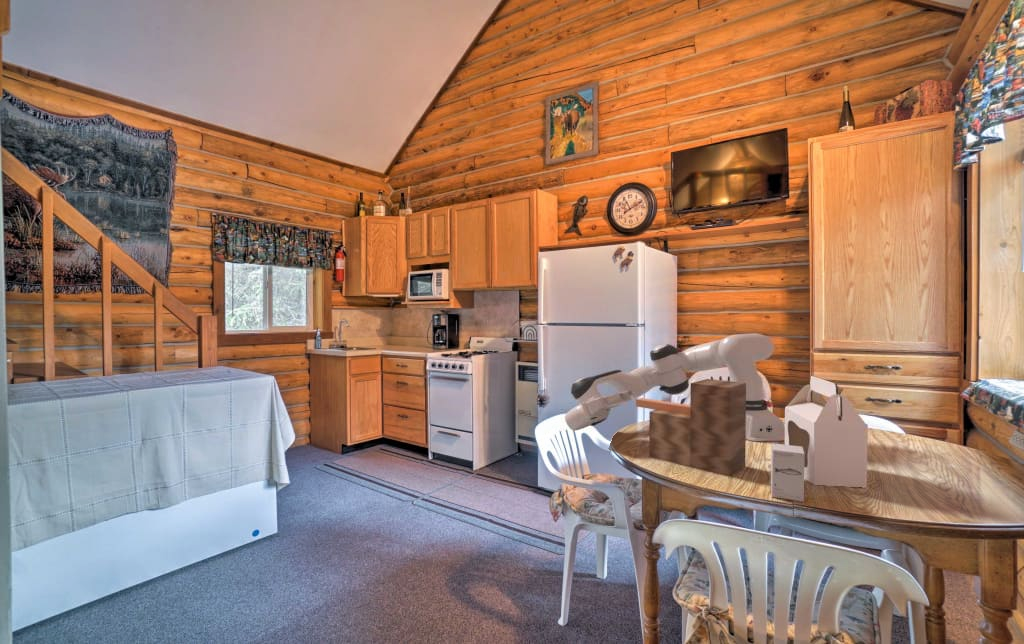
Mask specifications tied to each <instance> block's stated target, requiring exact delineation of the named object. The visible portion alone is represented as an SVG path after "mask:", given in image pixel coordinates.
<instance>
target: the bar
mask: <svg viewBox="0 0 1024 644" xmlns="http://www.w3.org/2000/svg"><path fill="white" fill-rule="evenodd" d="M635 407H636V408H643V409H648V410H649V409H650V410H653V411H654V410H661V411H667V412H673V413H679V414H685V415H690V404H685V403H678V402H671V401H665V400H664V401H663V400H658V399H650V398H645V397H644V398H643V397H638V398H635Z"/></svg>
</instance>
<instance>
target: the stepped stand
mask: <svg viewBox="0 0 1024 644" xmlns="http://www.w3.org/2000/svg"><path fill="white" fill-rule="evenodd" d="M689 405H690V415H685V414H679V413H673V412H667V411H661V410H654V409H653V410H650V411H649V418H648V419H649V425H648V426H649V431H648V432H649V441H648V442H649V444H648V445H649V451H648V452H649V456H651V457H650V458H653V457H654V458H653V459H657V458H658V460H661V459H662V461H665V460H666V462H669V461H670V463H673V462H674V464H678V465H682V466H684V467H685V466H686V467H690V468H693V469H694V468H695V469H698V470H703V471H707V472H710V473H715V474H719V475H724V476H728V477H731V476H733V475H734V474H736V473H738V472H739V471H741V470H742V469H744V468H745V467H746V445H747V444H746V440H747V439H746V383H742V382H732V381H730V380H723V379H722V380H721V379H712V378H706V379H701V380H697V381H694V382H690V404H689Z"/></svg>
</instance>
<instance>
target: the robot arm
mask: <svg viewBox="0 0 1024 644" xmlns="http://www.w3.org/2000/svg"><path fill="white" fill-rule="evenodd" d="M774 351H775V345H774V342H773V340H772V339H771V338H770V337H769V336H767V335H764V334H761V333H758V332H755V333H740V334H738V333H737V334H732V335H728V336H727V337H725V338H722V339H718V340H713V341H710V342H709V341H708V342H705V343H700V344H696V345H695V346H691V347H689V348H686V349H685V350H683V351H680V348H679V347H676V346H674V345H672V344H669V343H666V344H664V343H663V344H659V345H657V346H655V347H653V349H652V350H651V351H650V352H649V354H650V360H651V361H652V363H653V364H652V365H653V366H651V365H643V366H640V367H636V368H635V369H633V370H631V371H629V372H625V371H622V370H621V369H616V370H610V371H607V372H603V373H600V374H596V375H593V376H592V375H591V376H588V377H582V378H579V379H577V380H576V381H574V382H573V384H572V385H571V389H570V393H571V395H572V397H573V398H574V400H576V402H577V404H578V405H576V406H575V407H573V408H572V409H570V410H568V412H566V414H565V416H564V419H565V423H566V425H567V427H568V428H569V430H571V431H579V430H583V429H585V428H587V427H594V426H596V425H599V424H600V423H602V422H604V421H606V420H607V419H608V417H609V416H610V412H611V409H613V408H617V407H620V406H622V405H624V404H626V403H629V402H630V401H632V399H633V400H634V399H639V398H641V396H644V395H646V394H647V393H648V392H649V391H651V390H652V389H654V388H655V387H659V389H658V390H659V391H661V392H664V393H666V394H668V395H671V396H673V395H680V394H682V393H684V392H685V391H687V390H688V389H689V388H690V387H689V386H690V383H689V379H688V377H687V373H686V372H705V371H710V370H717V369H721V368H727V369H728V373H729V381H732V382H742V383H746V440H748V441H751V442H775V441H780V442H782V441H785V422H783V420H782V419H781V418H780V417H778V415H776V414H775V413H773V412H772V411H771V410H769V409H768V408H772V407H773V406H774V403H773V402H771V401H770V400H769V401H768V400H765V399H764V398H763V391H764V390H763V386H764V385H763V383H764V382H763V378H762V376H761V375H760V374H759V373H758V370H757V366H756V363H757V362H762V361H765V360H766V359H768V358H769V357H771V356H772V354H773V353H774ZM604 384H607V385H610V386H612V387H613V388H615V390H616V391H618V392H617V393H613V394H609V395H606V396H602V394H601V393H600V391H599V389H598V387H599V386H601V385H604Z"/></svg>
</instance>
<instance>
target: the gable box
mask: <svg viewBox="0 0 1024 644" xmlns="http://www.w3.org/2000/svg"><path fill="white" fill-rule="evenodd" d="M843 390H844V387H841V386H839V385H838V383H836V382H834V381H830V380H827V379H825V378H820V377H818V376H815V375H811V376H810V381H809V384H808V383H807V384H805V385H804V386H802V388H800V389H799V391H798V392H796V394H795V396H793V398H792V399H791V400H790V401H789V402H788V404H787V405H786V406H785V407H784V427H785V440H784V445H792V446H801V447H803V450H804V453H805V463H804V479H806V481H808V483H810V484H812V485H813V486H817V485H830V486H829V487H834V486H853V487H862V488H861V489H867V488H866V487H868V437H869V435H868V433H869V431H868V429H869V428H868V426H869V425H868V424H866V422H865V421H864V419H863V418H862V417H861V415H860V414H859V413H858V412H857V411H856V409H855V408H854V406H853V405H852V404H851V403H850V401H849V400H848V399H847V397H845V395H843V394H841V393H842V392H843ZM824 396H825V397H827V398H828V399H827V401H826V399H825V398H824Z"/></svg>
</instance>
